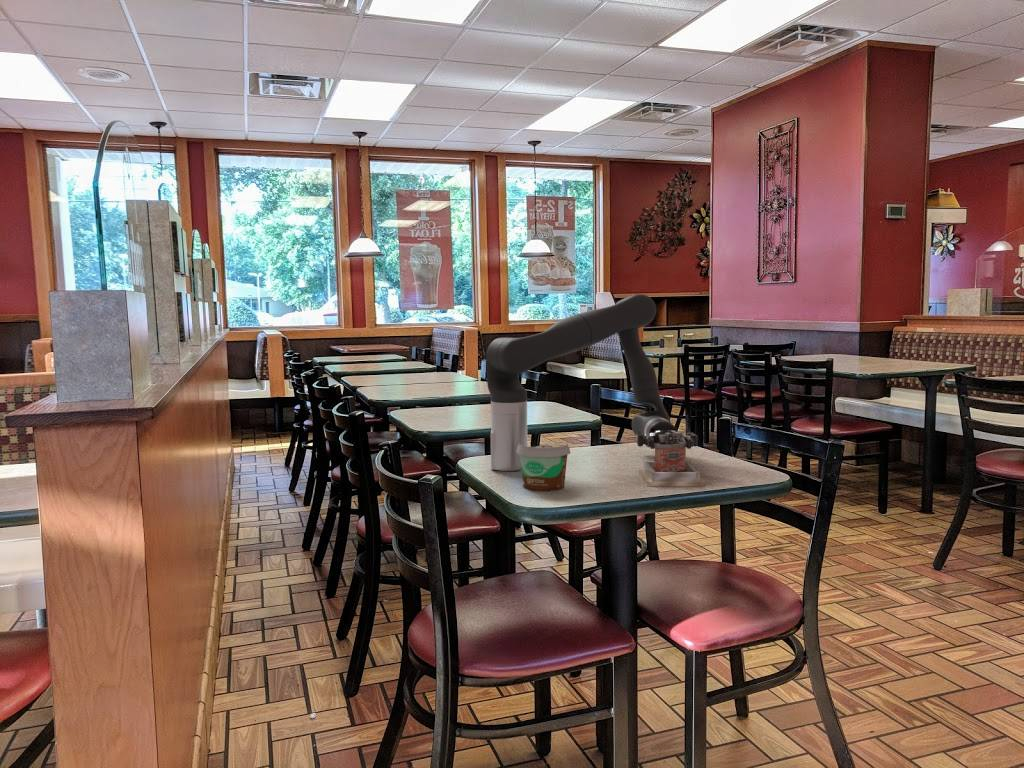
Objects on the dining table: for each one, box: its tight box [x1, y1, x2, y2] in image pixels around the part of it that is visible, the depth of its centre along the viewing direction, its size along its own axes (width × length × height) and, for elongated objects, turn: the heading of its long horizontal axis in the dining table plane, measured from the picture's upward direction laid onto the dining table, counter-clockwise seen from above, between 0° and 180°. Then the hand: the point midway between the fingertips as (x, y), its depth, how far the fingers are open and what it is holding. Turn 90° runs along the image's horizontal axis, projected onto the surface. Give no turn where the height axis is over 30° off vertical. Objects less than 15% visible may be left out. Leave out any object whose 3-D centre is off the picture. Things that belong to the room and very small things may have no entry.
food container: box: [517, 443, 571, 493], centre depth 169 cm, size 12×6×10 cm, turn 76°
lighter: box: [654, 432, 687, 472], centre depth 177 cm, size 8×3×10 cm, turn 107°
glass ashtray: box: [638, 460, 706, 487], centre depth 178 cm, size 13×14×3 cm
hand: (671, 444), depth 176 cm, fingers open, 8 cm apart
